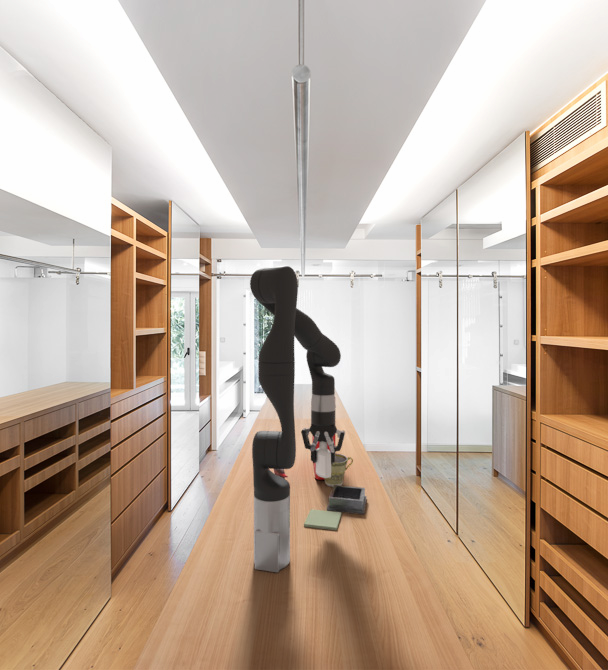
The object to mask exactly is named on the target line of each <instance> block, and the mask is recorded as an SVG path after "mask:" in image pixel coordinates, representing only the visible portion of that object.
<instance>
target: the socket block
mask: <svg viewBox="0 0 608 670" xmlns="http://www.w3.org/2000/svg"><path fill="white" fill-rule="evenodd" d="M367 497H368V496H367V495H366V488H365V487H361V486H360V487H357V486H349V485H348V486H347V485H341V486H339V485H334V486H333V487H332V489H331V492H330V493H329V496H328V503H327V507H326V511H333V512H341V513H346V512H347V513H348V514H355V513H358V514H359V515H364V514H365V511H364V510H366V509H365V508H366V505H365V504H367V499H368V498H367ZM358 514H357V515H358Z"/></svg>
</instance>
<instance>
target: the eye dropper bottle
mask: <svg viewBox="0 0 608 670" xmlns="http://www.w3.org/2000/svg"><path fill="white" fill-rule="evenodd" d="M316 474H317V475H318V476H320V477H322V478H329V477H331V452H330V451H329V450H328V449H327V442H324V441H320V442H319V448H318V449H317V450H316Z"/></svg>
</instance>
